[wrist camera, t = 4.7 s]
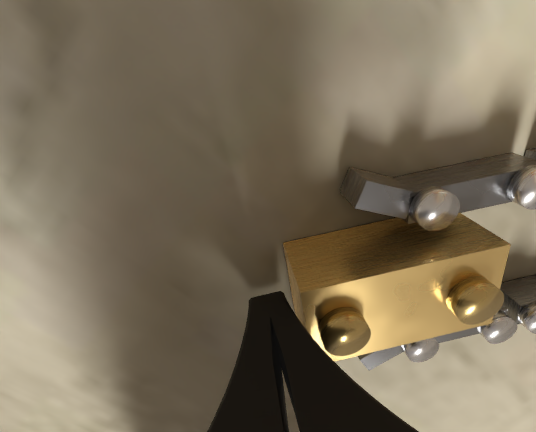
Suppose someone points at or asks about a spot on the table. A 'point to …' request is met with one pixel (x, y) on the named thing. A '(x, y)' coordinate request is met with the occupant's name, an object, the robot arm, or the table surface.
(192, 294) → the table surface
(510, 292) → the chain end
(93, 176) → the table surface
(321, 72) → the table surface
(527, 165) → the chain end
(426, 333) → the master link
